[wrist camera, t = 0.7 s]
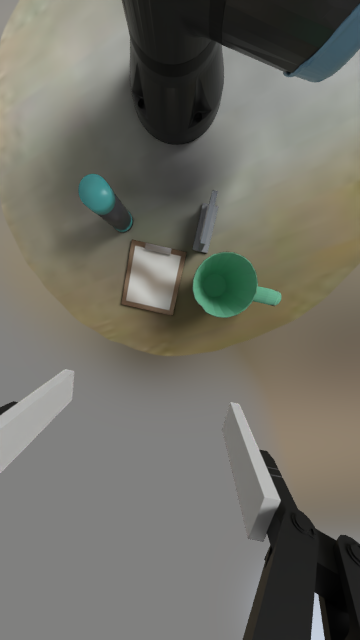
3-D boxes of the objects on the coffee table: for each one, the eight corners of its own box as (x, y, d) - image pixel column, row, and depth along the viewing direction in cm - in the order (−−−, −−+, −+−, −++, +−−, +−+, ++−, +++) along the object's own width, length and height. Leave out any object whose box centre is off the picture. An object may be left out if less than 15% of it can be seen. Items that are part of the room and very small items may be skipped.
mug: (185, 303, 37) (186, 310, 28) (196, 256, 36) (201, 244, 26) (253, 318, 38) (277, 330, 28) (267, 272, 36) (298, 267, 26)
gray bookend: (202, 204, 34) (206, 187, 28) (218, 207, 34) (224, 191, 28) (192, 249, 35) (193, 242, 29) (206, 253, 35) (211, 246, 29)
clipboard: (132, 240, 35) (130, 238, 34) (186, 252, 35) (186, 251, 34) (122, 303, 38) (120, 304, 37) (172, 315, 38) (172, 316, 37)
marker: (114, 207, 34) (80, 170, 23) (135, 212, 34) (111, 177, 23) (110, 230, 35) (76, 205, 24) (131, 235, 35) (107, 212, 24)
